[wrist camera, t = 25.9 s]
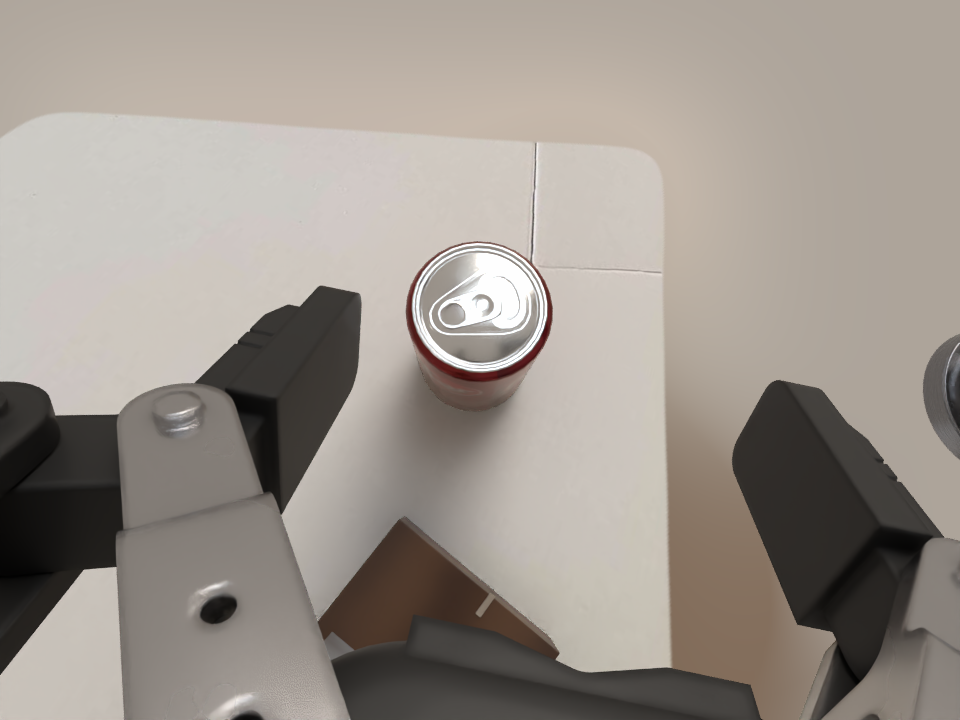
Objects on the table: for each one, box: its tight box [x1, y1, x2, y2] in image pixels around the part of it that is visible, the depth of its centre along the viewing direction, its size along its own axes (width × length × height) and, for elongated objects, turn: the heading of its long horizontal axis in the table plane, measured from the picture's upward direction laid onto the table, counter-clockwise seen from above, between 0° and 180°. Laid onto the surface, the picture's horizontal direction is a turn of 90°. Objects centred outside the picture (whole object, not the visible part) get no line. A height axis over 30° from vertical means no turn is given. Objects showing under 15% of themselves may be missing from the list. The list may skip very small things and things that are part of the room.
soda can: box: [406, 241, 553, 412], centre depth 32 cm, size 7×7×12 cm
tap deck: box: [318, 516, 559, 660], centre depth 31 cm, size 16×16×3 cm
